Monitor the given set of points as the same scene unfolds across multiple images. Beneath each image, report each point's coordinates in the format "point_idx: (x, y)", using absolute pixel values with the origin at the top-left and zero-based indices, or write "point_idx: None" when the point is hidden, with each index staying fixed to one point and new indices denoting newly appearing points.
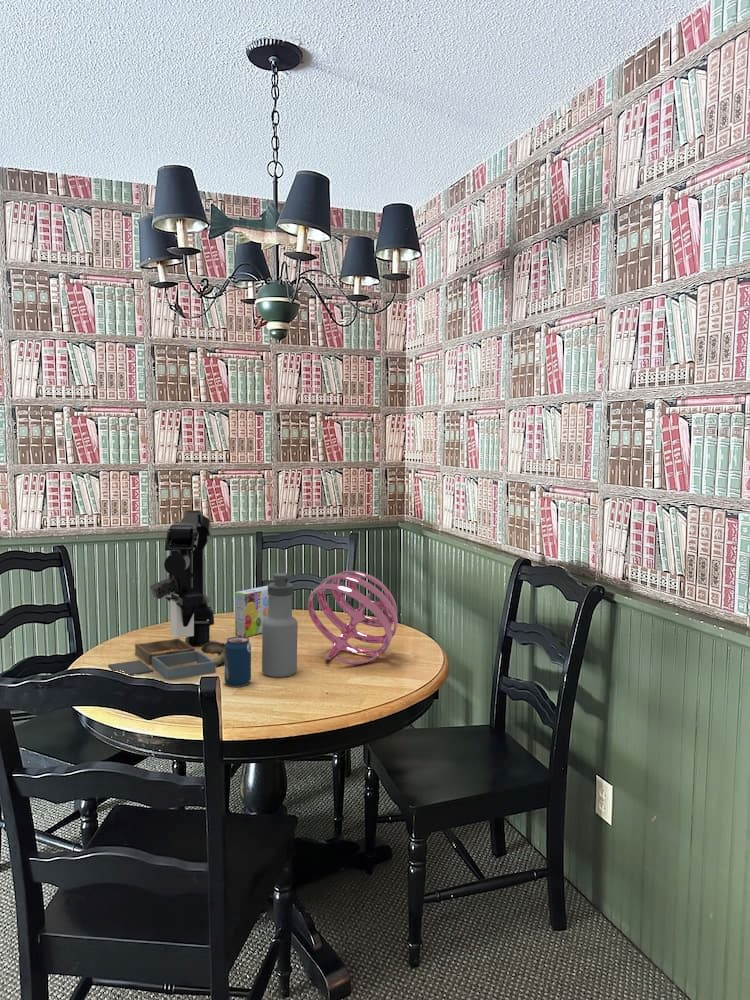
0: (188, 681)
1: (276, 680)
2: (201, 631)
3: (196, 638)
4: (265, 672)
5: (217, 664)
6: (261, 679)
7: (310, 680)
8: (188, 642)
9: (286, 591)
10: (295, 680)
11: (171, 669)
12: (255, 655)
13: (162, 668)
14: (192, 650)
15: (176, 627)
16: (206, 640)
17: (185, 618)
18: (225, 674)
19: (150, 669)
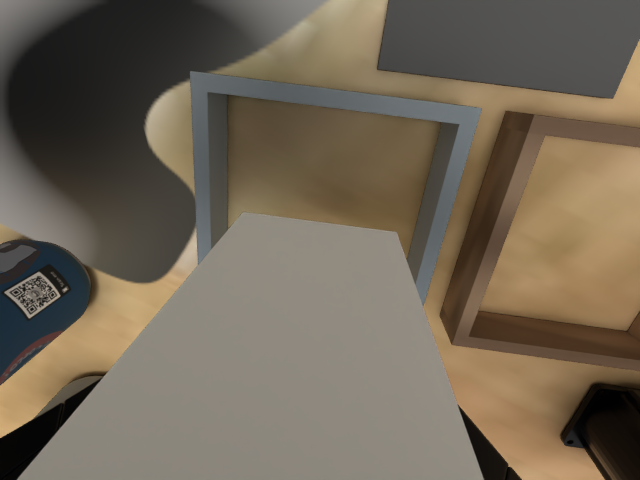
0: (151, 144)
1: (45, 370)
2: (623, 469)
3: (616, 426)
4: (90, 380)
5: None
6: (70, 347)
7: (15, 424)
8: (635, 391)
9: None
10: (27, 402)
11: (192, 93)
12: None
13: (288, 83)
14: (452, 330)
15: (208, 254)
16: (587, 442)
17: None
18: (3, 251)
19: (405, 65)
